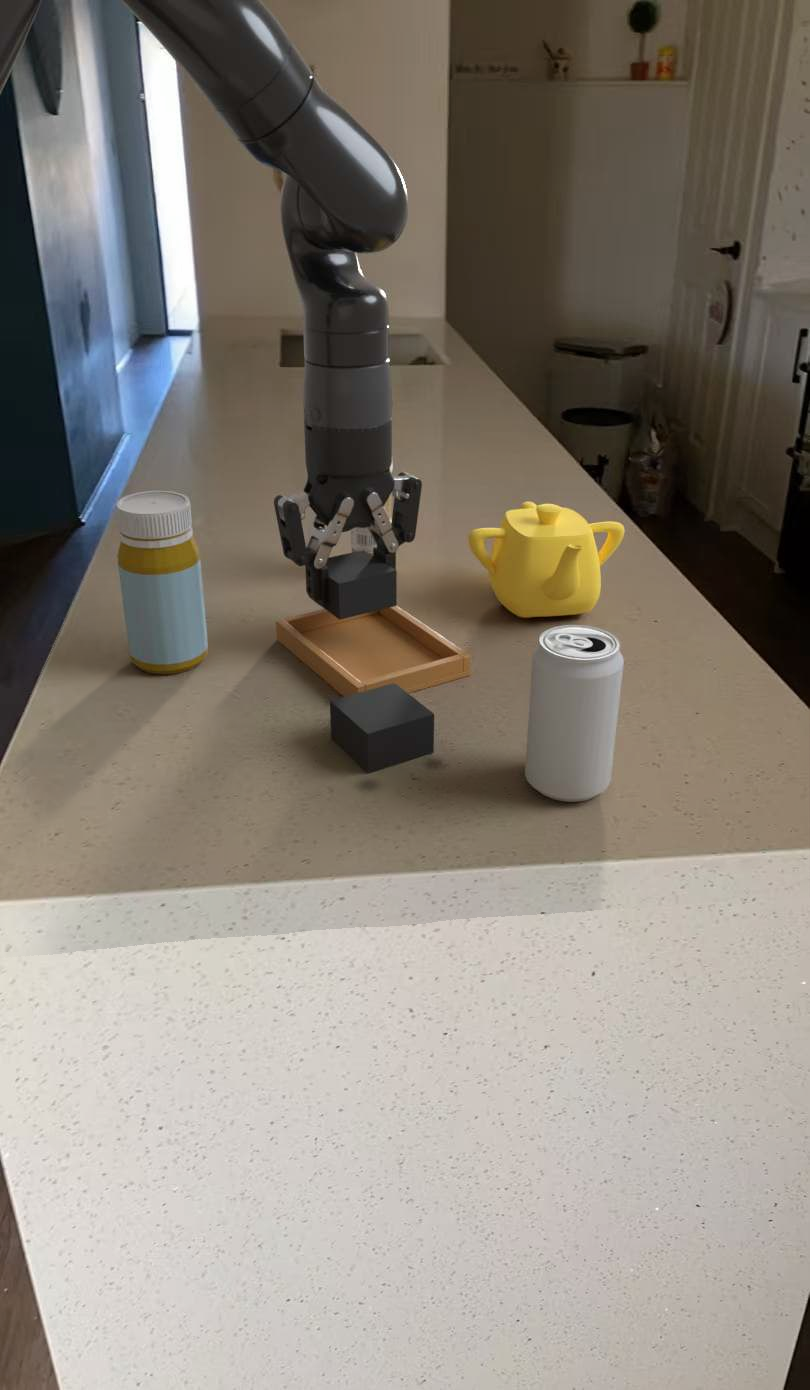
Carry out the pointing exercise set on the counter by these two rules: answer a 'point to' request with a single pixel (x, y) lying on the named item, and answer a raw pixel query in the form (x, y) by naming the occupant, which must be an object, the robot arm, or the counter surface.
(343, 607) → the pad
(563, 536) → the teapot
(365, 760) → the pad
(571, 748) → the beverage can
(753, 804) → the counter surface
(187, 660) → the bottle
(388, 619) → the tray
